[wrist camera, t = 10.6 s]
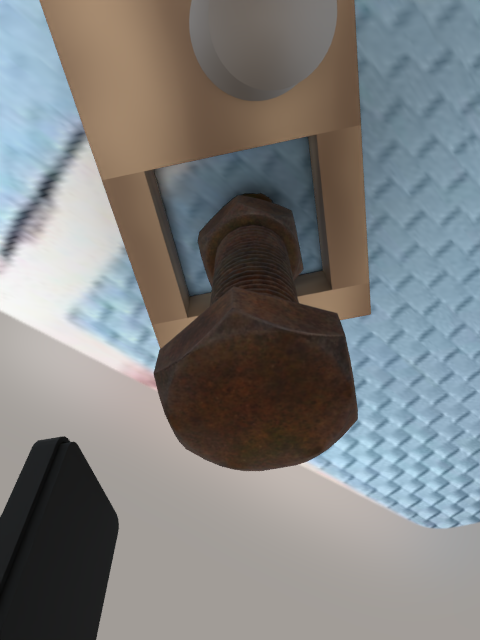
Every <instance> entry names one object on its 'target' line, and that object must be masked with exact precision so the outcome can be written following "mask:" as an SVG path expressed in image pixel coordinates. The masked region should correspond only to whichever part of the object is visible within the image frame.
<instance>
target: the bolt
mask: <svg viewBox="0 0 480 640" xmlns="http://www.w3.org/2000/svg"><path fill="white" fill-rule="evenodd" d="M198 244H199V249H200V253H201V257H202V260H203V264H204V267H205V271H206V274H207V276H208V279H209V282H210V284H211V286H212V294H211V301H210V307H209V308H207V309H206V310H205V311H204V312H203V313H202V314H200V315H199V316H198V317H197V318H196V319H195V320H194V321H192V322H191V323H190V324H189V325H188V326H187V327H185V328H184V329H183V330H182V331H181V332H180V333H178V334H177V335H176V336H175V337H174V338H173V339H171V340H170V341H169V342H168V343H167V344H166V345H165V346H163V347H162V348H161V349H160V350H159V354H158V358H157V362H156V366H155V370H154V377H155V381H156V385H157V389H158V393H159V397H160V400H161V403H162V406H163V409H164V412H165V415H166V417H167V419H168V422H169V424H170V426H171V428H172V430H173V432H174V434H175V435H176V437H177V439H178V440H179V442H180V443H181V444H182V445H183V446H184V447H185V448H186V449H187V450H189V451H191V452H193V453H194V454H196V455H198V456H200V457H202V458H203V459H205V460H207V461H210V462H212V463H215V464H217V465H219V466H222V467H227V468H230V469H235V470H242V471H264V470H270V469H276V468H283V467H288V466H294V465H298V464H301V463H304V462H307V461H309V460H311V459H313V458H315V457H317V456H318V455H320V454H321V453H323V452H324V451H326V450H327V449H329V448H330V447H331V446H332V445H333V444H334V443H336V442H337V441H338V440H339V439H340V438H341V437H342V436H343V435H344V434H345V433H346V432H347V431H348V430H349V428H350V427H351V426H352V425H353V424H354V423H355V422H356V421H357V419H358V409H357V401H356V393H355V386H354V378H353V373H352V367H351V361H350V356H349V352H348V347H347V342H346V337H345V334H344V331H343V328H342V325H341V322H340V319H339V316H338V313H335V312H331V311H327V310H323V309H319V308H316V307H312V306H308V305H304V304H300V303H299V301H298V298H297V292H296V288H295V283H294V279H295V278H296V277H297V276H298V275H299V274H300V273H301V272H302V271H303V263H302V257H301V252H300V247H299V242H298V236H297V231H296V226H295V222H294V217H293V214H292V211H291V210H289V209H287V208H285V207H282V206H280V205H277V204H274V203H272V200H271V199H270V198H269V197H267V196H265V195H264V194H261V193H260V194H254V193H252V194H243V195H238V196H236V197H235V198H233V199H232V200H231V201H230V202H229V203H227V204H226V205H225V206H224V207H223V208H222V209H221V210H220V211H219V212H218V213H217V214H216V215H215V216H214V217H213V218H212V219H211V220H210V221H209V222H208V223H207V224H206V225H205V226H204V228H203V229H202V230H201V231H200V232H199V237H198Z"/></svg>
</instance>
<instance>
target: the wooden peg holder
mask: <svg viewBox="0 0 480 640" xmlns="http://www.w3.org/2000/svg"><path fill="white" fill-rule="evenodd" d="M40 3H41V6H42V9H43V12H44V15H45V18H46V20H47V23H48V26H49V29H50V32H51V35H52V38H53V41H54V44H55V46H56V49H57V52H58V55H59V58H60V61H61V64H62V67H63V69H64V72H65V75H66V78H67V81H68V84H69V87H70V90H71V92H72V95H73V98H74V101H75V104H76V107H77V110H78V113H79V116H80V118H81V121H82V124H83V127H84V130H85V133H86V136H87V139H88V141H89V144H90V147H91V150H92V153H93V156H94V159H95V162H96V165H97V167H98V170H99V173H100V176H101V179H102V182H103V185H104V188H105V190H106V193H107V196H108V199H109V202H110V205H111V208H112V211H113V213H114V216H115V219H116V222H117V225H118V228H119V231H120V234H121V237H122V239H123V242H124V245H125V248H126V251H127V254H128V257H129V260H130V262H131V265H132V268H133V271H134V274H135V277H136V280H137V283H138V286H139V288H140V291H141V294H142V297H143V300H144V303H145V306H146V309H147V311H148V314H149V317H150V320H151V323H152V326H153V329H154V332H155V335H156V337H157V340H158V343H159V346H160V349H161V348H162V347H163V346H165V345H166V344H167V343H168V342H169V341H170V340H171V339H173V338H174V337H175V336H176V335H177V334H178V333H180V332H181V331H182V330H183V329H184V328H185V327H187V326H188V325H189V324H190V323H191V322H192V321H194V320H195V319H196V318H197V317H198V316H199V315H200V314H202V313H203V312H204V311H205V310H206V309H207V308H209V307H210V301H211V294H212V292H211V293H206V294H200V295H195V296H189V293H188V289H187V286H186V282H185V279H184V275H183V272H182V268H181V265H180V261H179V258H178V254H177V251H176V247H175V244H174V240H173V237H172V233H171V230H170V226H169V223H168V219H167V216H166V212H165V209H164V205H163V202H162V198H161V195H160V191H159V188H158V184H157V181H156V177H155V174H154V170H153V169H157V168H162V167H167V166H171V165H176V164H181V163H185V162H190V161H195V160H199V159H204V158H209V157H213V156H218V155H223V154H227V153H232V152H237V151H241V150H246V149H251V148H255V147H260V146H265V145H269V144H274V143H279V142H284V141H288V140H293V139H298V138H302V137H307V136H308V141H309V150H310V159H311V168H312V177H313V186H314V195H315V204H316V213H317V222H318V232H319V241H320V250H321V259H322V268H323V271H318V272H313V273H308V274H303V275H298V276H297V277H296V278H295V279H294V283H295V288H296V292H297V298H298V301H299V303H300V304H304V305H308V306H312V307H316V308H319V309H323V310H327V311H331V312H335V313H338V316H339V319H340V320H344V319H349V318H354V317H360V316H365V315H370V314H371V306H370V287H369V269H368V250H367V231H366V212H365V193H364V174H363V155H362V136H361V117H360V99H359V80H358V61H357V42H356V23H355V4H354V0H40Z"/></svg>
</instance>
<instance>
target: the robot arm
mask: <svg viewBox="0 0 480 640" xmlns="http://www.w3.org/2000/svg"><path fill="white" fill-rule="evenodd" d="M118 529H119V523H118V517H117V514H116V512H115V510H114V509H113V507H112V505H111V503H110V501H109V500H108V498H107V496H106V495H105V492H104V491H103V489H102V487H101V485H100V484H99V482H98V480H97V478H96V476H95V475H94V473H93V471H92V469H91V468H90V466H89V464H88V462H87V460H86V459H85V457H84V455H83V454H82V452H81V450H80V448H79V446H78V445H77V444H76V443H75V442H70V441H69V440H68V438H66V437H57V438H51V439H45V440H39V441H37V442H36V443H35V444H34V445H33V447H32V449H31V451H30V453H29V456H28V458H27V460H26V462H25V464H24V467H23V469H22V471H21V473H20V475H19V478H18V480H17V482H16V484H15V487H14V489H13V491H12V493H11V495H10V498H9V500H8V502H7V505H6V507H5V509H4V511H3V513H2V515H1V517H0V640H96V637H97V632H98V627H99V622H100V617H101V613H102V607H103V603H104V598H105V593H106V588H107V583H108V578H109V573H110V569H111V564H112V559H113V554H114V549H115V544H116V540H117V535H118Z"/></svg>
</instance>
